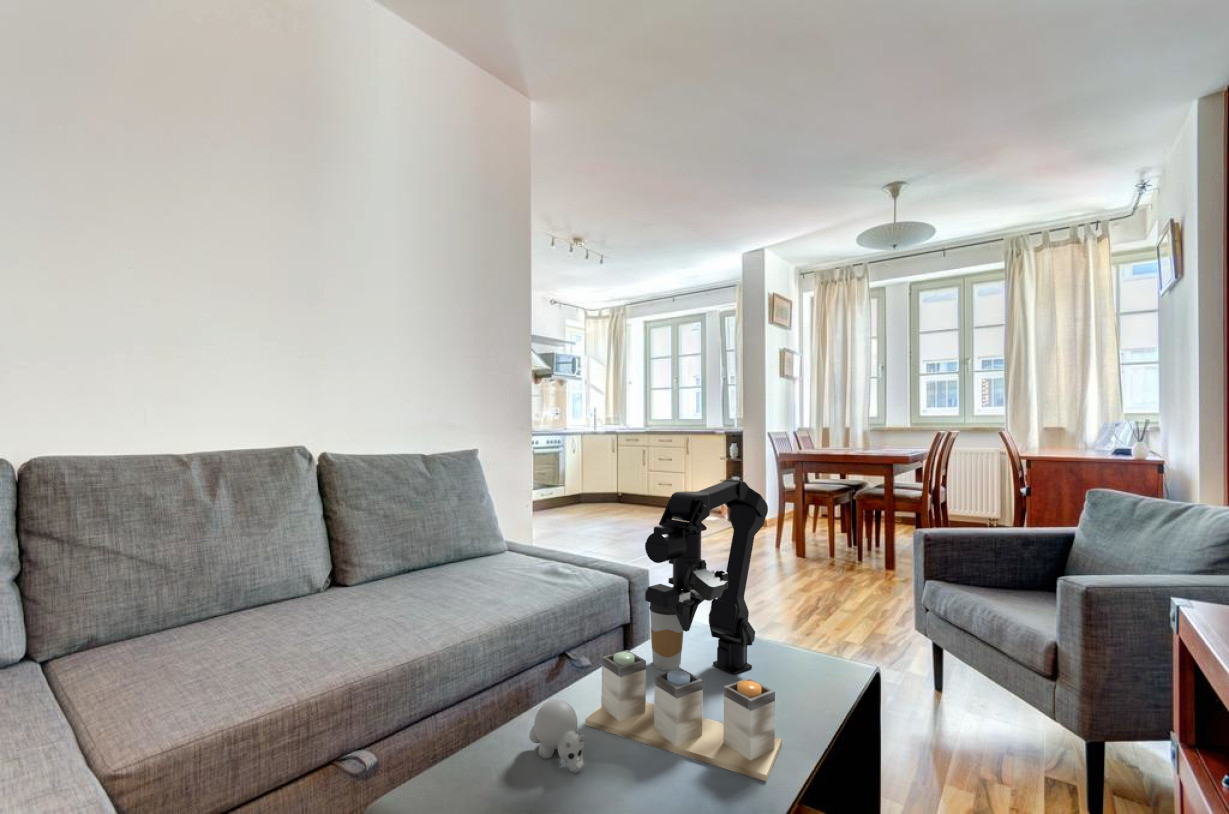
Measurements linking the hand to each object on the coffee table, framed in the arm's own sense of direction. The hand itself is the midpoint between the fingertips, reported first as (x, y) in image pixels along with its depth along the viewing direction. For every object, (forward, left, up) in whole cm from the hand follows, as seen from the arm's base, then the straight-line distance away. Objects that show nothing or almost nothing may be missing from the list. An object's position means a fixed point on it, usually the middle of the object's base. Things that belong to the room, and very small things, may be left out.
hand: (686, 630), depth 116 cm
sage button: (+15, -1, -4) cm, 16 cm away
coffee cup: (-6, -13, -13) cm, 19 cm away
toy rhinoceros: (+32, +5, -13) cm, 35 cm away
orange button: (+4, +21, -4) cm, 22 cm away
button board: (+11, +11, -13) cm, 20 cm away
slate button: (+12, +11, -4) cm, 17 cm away
